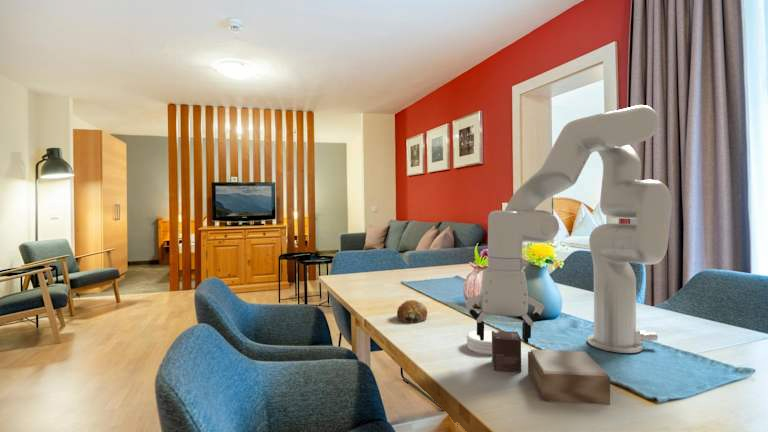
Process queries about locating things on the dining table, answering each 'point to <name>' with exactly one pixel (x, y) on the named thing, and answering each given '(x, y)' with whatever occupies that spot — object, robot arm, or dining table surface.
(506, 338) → the box
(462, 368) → the dining table surface
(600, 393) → the plinth
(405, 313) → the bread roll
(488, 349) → the coaster
